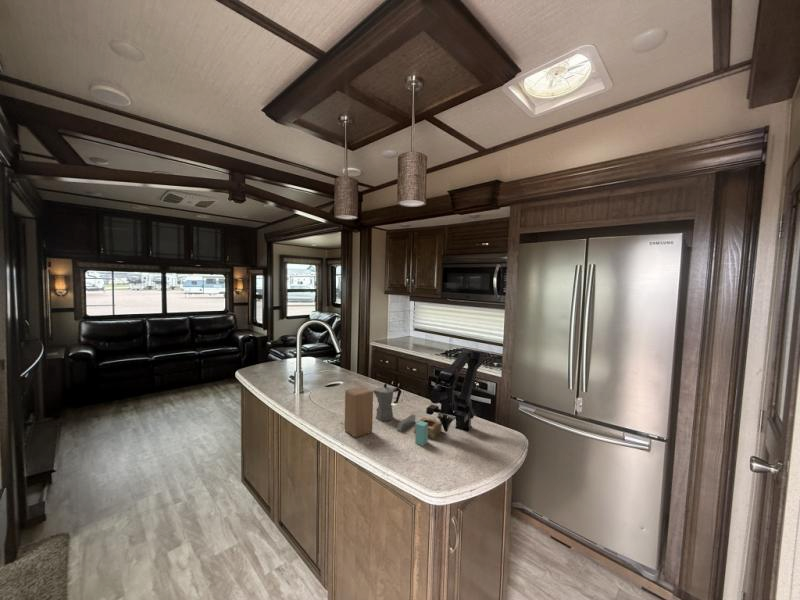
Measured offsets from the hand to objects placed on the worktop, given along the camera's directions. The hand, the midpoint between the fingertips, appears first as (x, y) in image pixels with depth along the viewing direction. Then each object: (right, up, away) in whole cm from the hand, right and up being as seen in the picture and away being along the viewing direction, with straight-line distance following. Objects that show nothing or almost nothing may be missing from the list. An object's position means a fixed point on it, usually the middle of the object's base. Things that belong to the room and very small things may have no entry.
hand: (446, 431), depth 146 cm
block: (-41, -2, +4) cm, 41 cm away
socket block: (-8, -2, +5) cm, 10 cm away
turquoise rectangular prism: (-12, -3, -6) cm, 13 cm away
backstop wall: (-18, -2, +11) cm, 21 cm away
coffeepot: (-28, -2, +21) cm, 35 cm away
